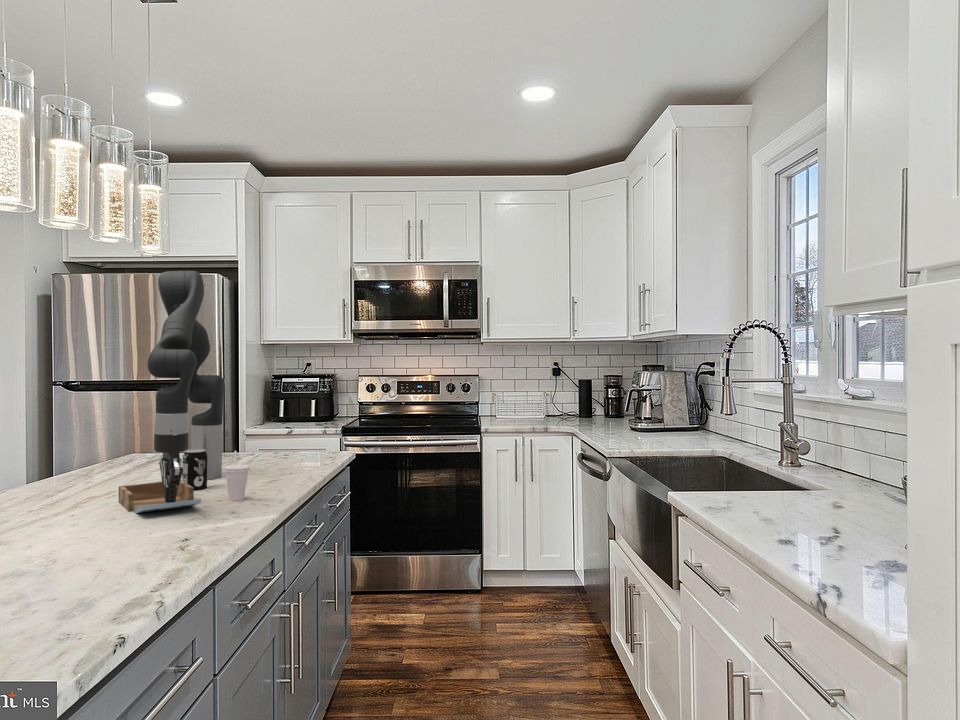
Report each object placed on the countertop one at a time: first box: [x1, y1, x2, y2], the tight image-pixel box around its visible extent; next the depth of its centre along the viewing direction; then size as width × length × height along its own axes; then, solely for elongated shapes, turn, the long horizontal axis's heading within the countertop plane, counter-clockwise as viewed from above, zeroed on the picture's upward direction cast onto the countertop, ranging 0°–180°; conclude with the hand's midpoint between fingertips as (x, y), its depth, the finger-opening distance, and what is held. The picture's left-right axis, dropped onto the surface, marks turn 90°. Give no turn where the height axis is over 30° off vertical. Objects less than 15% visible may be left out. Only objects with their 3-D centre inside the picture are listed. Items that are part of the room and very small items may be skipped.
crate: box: [118, 480, 195, 513], centre depth 163 cm, size 13×15×5 cm
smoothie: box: [223, 450, 250, 502], centre depth 168 cm, size 6×6×14 cm
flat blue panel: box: [133, 498, 202, 514], centre depth 154 cm, size 1×13×10 cm
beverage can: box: [181, 448, 208, 492], centre depth 181 cm, size 7×7×12 cm
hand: (170, 502), depth 152 cm, fingers closed
